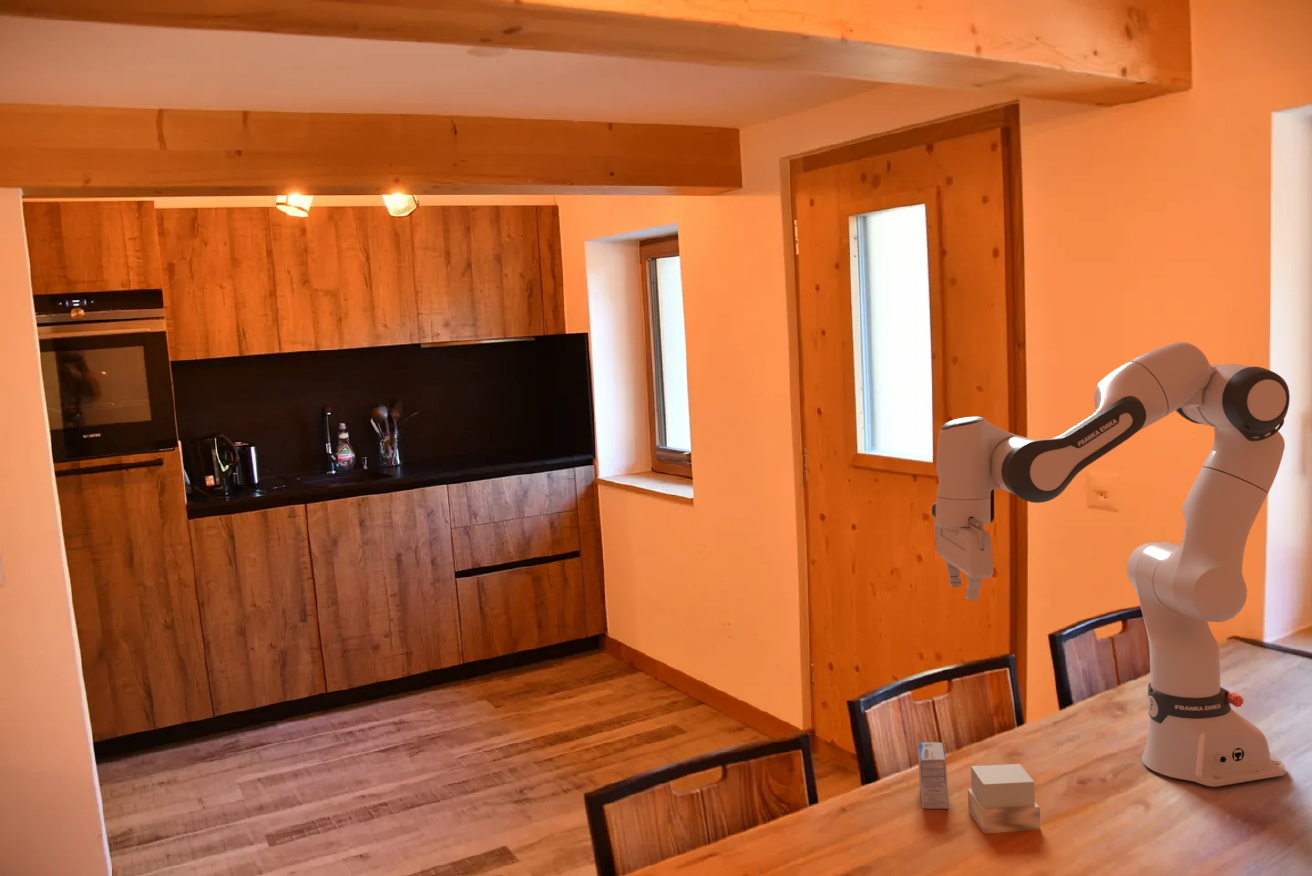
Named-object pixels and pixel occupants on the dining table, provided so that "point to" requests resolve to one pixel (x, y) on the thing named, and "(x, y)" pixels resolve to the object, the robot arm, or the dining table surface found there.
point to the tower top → (1002, 786)
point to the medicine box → (933, 775)
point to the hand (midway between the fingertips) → (963, 592)
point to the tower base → (1003, 817)
